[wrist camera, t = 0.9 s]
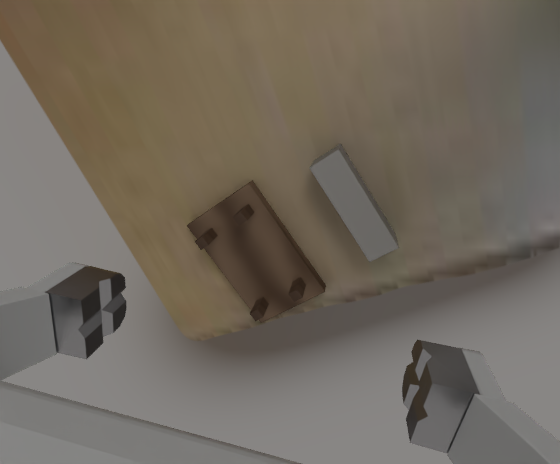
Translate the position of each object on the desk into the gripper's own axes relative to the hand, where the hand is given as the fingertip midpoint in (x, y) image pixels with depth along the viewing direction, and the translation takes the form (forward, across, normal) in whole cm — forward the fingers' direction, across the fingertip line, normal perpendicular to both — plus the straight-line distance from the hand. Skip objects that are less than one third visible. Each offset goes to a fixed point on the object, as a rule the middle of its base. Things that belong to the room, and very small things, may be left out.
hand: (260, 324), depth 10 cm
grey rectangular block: (+32, -4, +5) cm, 33 cm away
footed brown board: (+32, +7, +14) cm, 36 cm away
